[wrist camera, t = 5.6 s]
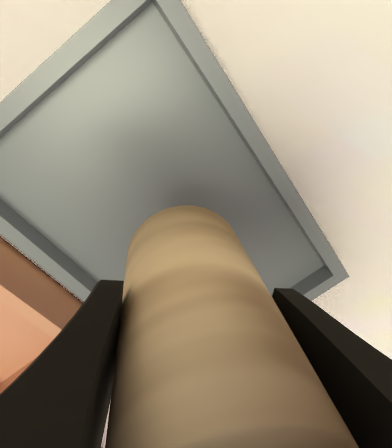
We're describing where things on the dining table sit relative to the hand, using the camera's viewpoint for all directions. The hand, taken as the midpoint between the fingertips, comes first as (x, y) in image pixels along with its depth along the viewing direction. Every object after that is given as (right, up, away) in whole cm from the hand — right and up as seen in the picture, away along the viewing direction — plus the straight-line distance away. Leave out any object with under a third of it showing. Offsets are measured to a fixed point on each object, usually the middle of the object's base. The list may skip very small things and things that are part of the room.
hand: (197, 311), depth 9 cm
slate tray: (-1, +3, +10) cm, 10 cm away
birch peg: (0, +1, +3) cm, 3 cm away
